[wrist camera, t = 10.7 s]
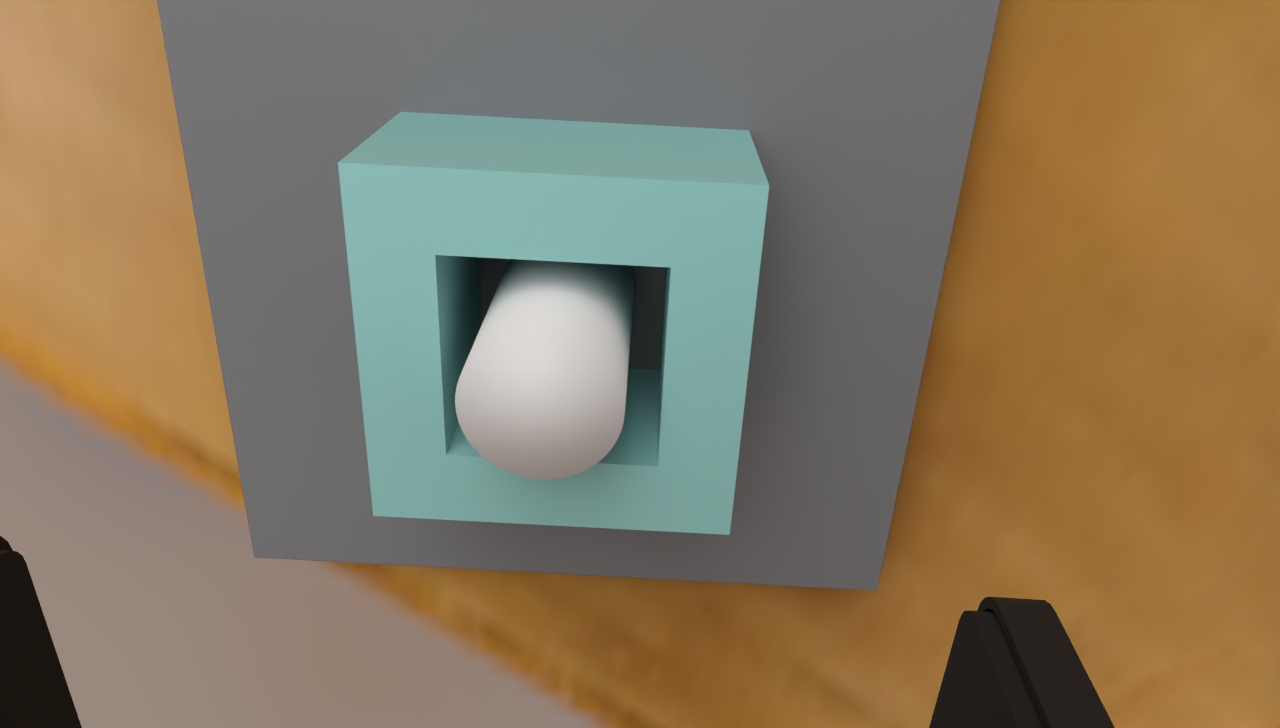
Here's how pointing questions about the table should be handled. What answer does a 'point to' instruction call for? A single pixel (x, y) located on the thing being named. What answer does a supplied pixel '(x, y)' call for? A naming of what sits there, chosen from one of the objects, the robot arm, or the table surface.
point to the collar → (564, 232)
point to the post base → (593, 66)
